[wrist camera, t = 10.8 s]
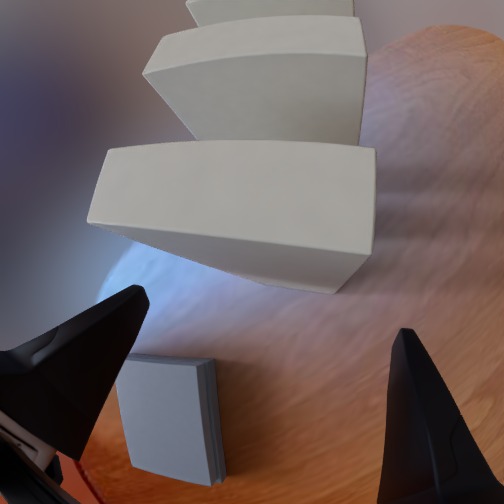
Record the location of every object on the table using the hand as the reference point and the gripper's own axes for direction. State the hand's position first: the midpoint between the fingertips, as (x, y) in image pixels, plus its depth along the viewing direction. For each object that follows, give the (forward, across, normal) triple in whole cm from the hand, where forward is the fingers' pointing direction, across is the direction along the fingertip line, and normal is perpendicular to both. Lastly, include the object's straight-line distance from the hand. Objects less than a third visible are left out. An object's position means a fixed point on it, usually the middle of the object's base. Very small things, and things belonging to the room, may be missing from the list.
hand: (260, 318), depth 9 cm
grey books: (0, +8, +15) cm, 17 cm away
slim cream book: (+9, 0, +6) cm, 11 cm away
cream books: (+13, 0, +2) cm, 13 cm away
